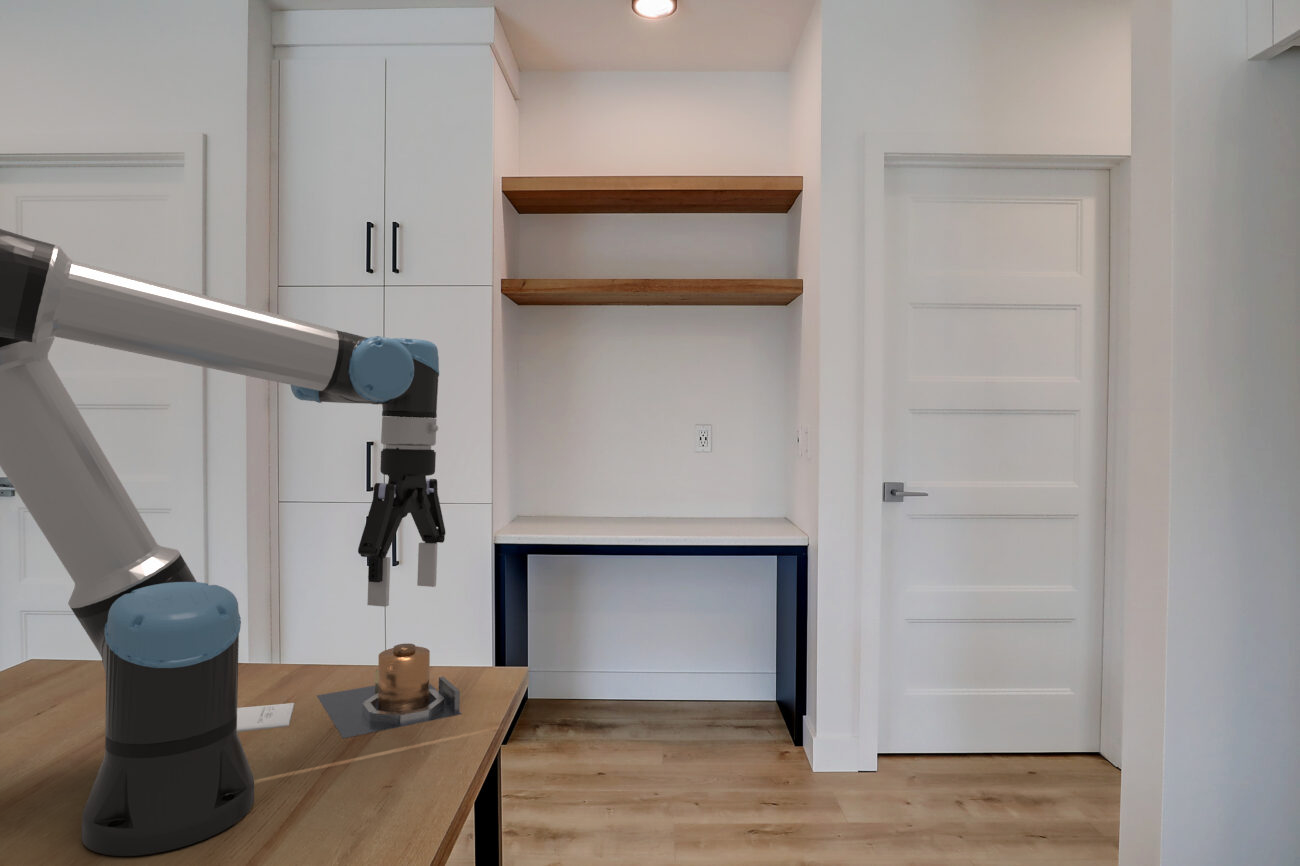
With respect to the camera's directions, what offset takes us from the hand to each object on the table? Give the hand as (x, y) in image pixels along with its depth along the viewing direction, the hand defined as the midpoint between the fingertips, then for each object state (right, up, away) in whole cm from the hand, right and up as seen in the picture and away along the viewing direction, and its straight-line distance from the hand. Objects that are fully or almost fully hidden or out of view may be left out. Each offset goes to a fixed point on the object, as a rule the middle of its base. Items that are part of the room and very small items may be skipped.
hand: (403, 595), depth 107 cm
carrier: (-3, -17, +2) cm, 17 cm away
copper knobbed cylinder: (0, -16, 0) cm, 16 cm away
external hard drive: (-21, -17, -5) cm, 27 cm away
